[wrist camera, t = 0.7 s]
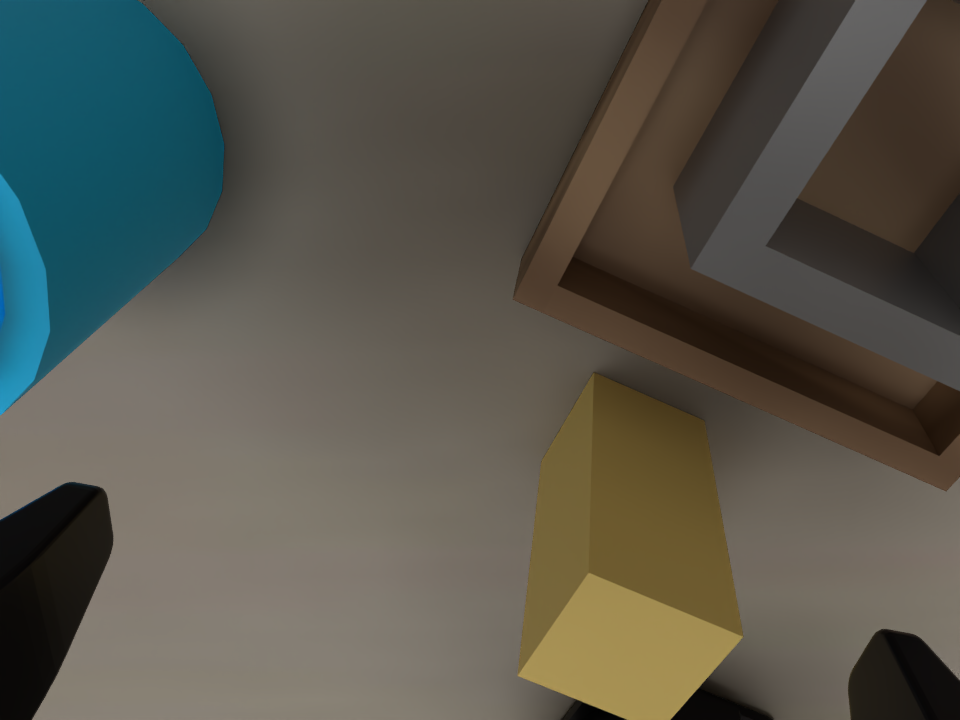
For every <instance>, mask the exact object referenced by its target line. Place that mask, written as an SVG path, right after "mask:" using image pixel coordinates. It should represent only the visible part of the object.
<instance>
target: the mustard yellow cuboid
mask: <svg viewBox="0 0 960 720" xmlns="http://www.w3.org/2000/svg"><path fill="white" fill-rule="evenodd" d="M742 638H743V632H742V626H741V621H740V615H739V610H738V604H737V599H736V593H735V588H734V582H733V576H732V571H731V565H730V560H729V554H728V549H727V543H726V538H725V532H724V527H723V521H722V516H721V510H720V504H719V499H718V493H717V488H716V482H715V477H714V471H713V466H712V460H711V455H710V449H709V443H708V438H707V432H706V427H705V421H704V420H702V419H699V418H697V417H695V416H693V415H690V414H688V413H686V412H683V411H681V410H679V409H677V408H674V407H672V406H670V405H667V404H665V403H663V402H661V401H658V400H656V399H654V398H651V397H649V396H647V395H645V394H642V393H640V392H638V391H636V390H633V389H631V388H629V387H626V386H624V385H622V384H620V383H617V382H615V381H613V380H610V379H608V378H606V377H604V376H601V375H599V374H597V373H593V374H592V376H591V378H590V380H589V381H588V383H587V385H586V386H585V388H584V390H583V391H582V393H581V395H580V397H579V398H578V400H577V402H576V403H575V405H574V407H573V408H572V410H571V412H570V414H569V415H568V417H567V419H566V420H565V422H564V424H563V425H562V427H561V429H560V431H559V432H558V434H557V436H556V437H555V439H554V441H553V442H552V444H551V446H550V448H549V449H548V451H547V453H546V454H545V456H544V458H543V459H542V461H541V470H540V479H539V488H538V496H537V505H536V514H535V523H534V532H533V541H532V550H531V559H530V568H529V577H528V586H527V595H526V604H525V613H524V622H523V631H522V640H521V649H520V658H519V667H518V676H519V677H522V678H524V679H527V680H529V681H532V682H534V683H537V684H539V685H542V686H544V687H547V688H549V689H552V690H554V691H557V692H559V693H562V694H564V695H567V696H569V697H572V698H574V699H577V700H579V701H582V702H584V703H587V704H589V705H592V706H594V707H597V708H599V709H602V710H604V711H607V712H609V713H612V714H614V715H617V716H619V717H622V718H624V719H627V720H671V719H672V717H673V716H674V715H675V714H676V713H677V712H678V711H679V709H680V708H681V707H682V706H683V705H684V704H685V703H686V701H687V700H688V699H689V698H690V697H691V696H692V695H693V694H694V692H695V691H696V690H697V689H698V688H699V687H700V686H701V684H702V683H703V682H704V681H705V680H706V679H707V678H708V677H709V675H710V674H711V673H712V672H713V671H714V670H715V669H716V667H717V666H718V665H719V664H720V663H721V662H722V661H723V659H724V658H725V657H726V656H727V655H728V654H729V653H730V652H731V650H732V649H733V648H734V647H735V646H736V645H737V644H738V642H739V641H740V640H741V639H742Z"/></svg>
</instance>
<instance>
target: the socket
mask: <svg viewBox="0 0 960 720" xmlns="http://www.w3.org/2000/svg"><path fill="white" fill-rule="evenodd" d="M926 1H927V0H779V1H778V3H777V5H776V6H775V8H774V10H773V12H772V14H771V15H770V17H769V19H768V21H767V22H766V24H765V26H764V28H763V29H762V31H761V33H760V35H759V36H758V38H757V40H756V42H755V43H754V45H753V47H752V49H751V50H750V52H749V54H748V56H747V58H746V59H745V61H744V63H743V65H742V66H741V68H740V70H739V72H738V73H737V75H736V77H735V79H734V80H733V82H732V84H731V86H730V87H729V89H728V91H727V93H726V94H725V96H724V98H723V100H722V101H721V103H720V105H719V107H718V109H717V110H716V112H715V114H714V116H713V117H712V119H711V121H710V123H709V124H708V126H707V128H706V130H705V131H704V133H703V135H702V137H701V138H700V140H699V142H698V144H697V145H696V147H695V149H694V151H693V153H692V154H691V156H690V158H689V160H688V161H687V163H686V165H685V167H684V168H683V170H682V172H681V174H680V175H679V177H678V179H677V181H676V182H675V184H674V186H673V189H674V194H675V198H676V203H677V208H678V212H679V217H680V222H681V226H682V231H683V235H684V240H685V245H686V249H687V254H688V258H689V263H690V268H691V269H692V270H695V271H697V272H699V273H701V274H703V275H706V276H708V277H710V278H712V279H714V280H717V281H719V282H721V283H723V284H725V285H728V286H730V287H732V288H734V289H736V290H739V291H741V292H743V293H745V294H747V295H750V296H752V297H754V298H756V299H758V300H760V301H763V302H765V303H767V304H769V305H771V306H774V307H776V308H778V309H780V310H782V311H785V312H787V313H789V314H791V315H793V316H796V317H798V318H800V319H802V320H804V321H807V322H809V323H811V324H813V325H815V326H818V327H820V328H822V329H824V330H826V331H829V332H831V333H833V334H835V335H837V336H840V337H842V338H844V339H846V340H848V341H851V342H853V343H855V344H857V345H859V346H861V347H864V348H866V349H868V350H870V351H872V352H875V353H877V354H879V355H881V356H883V357H886V358H888V359H890V360H892V361H894V362H897V363H899V364H901V365H903V366H905V367H908V368H910V369H912V370H914V371H916V372H919V373H921V374H923V375H925V376H927V377H930V378H932V379H934V380H936V381H938V382H941V383H943V384H945V385H947V386H949V387H952V388H954V389H956V390H958V391H960V193H959V195H958V196H957V197H956V199H955V200H954V201H953V202H952V204H951V205H950V206H949V208H948V209H947V210H946V212H945V213H944V214H943V216H942V217H941V218H940V220H939V221H938V222H937V223H936V225H935V226H934V227H933V229H932V230H931V231H930V233H929V234H928V235H927V237H926V238H925V239H924V240H923V242H922V243H921V244H920V246H919V247H918V248H917V250H916V251H915V252H914V253H913V252H911V251H908V250H906V249H904V248H902V247H900V246H898V245H896V244H894V243H891V242H889V241H887V240H885V239H883V238H881V237H879V236H877V235H874V234H872V233H870V232H868V231H866V230H864V229H862V228H859V227H857V226H855V225H853V224H851V223H849V222H847V221H845V220H842V219H840V218H838V217H836V216H834V215H832V214H830V213H828V212H825V211H823V210H821V209H819V208H817V207H815V206H813V205H811V204H808V203H806V202H804V201H802V200H800V199H798V198H797V197H798V196H799V194H800V193H801V191H802V190H803V188H804V187H805V185H806V184H807V182H808V181H809V179H810V178H811V176H812V175H813V173H814V172H815V170H816V169H817V167H818V165H819V164H820V162H821V161H822V159H823V158H824V156H825V155H826V153H827V152H828V150H829V149H830V147H831V146H832V144H833V143H834V141H835V140H836V138H837V137H838V135H839V134H840V132H841V130H842V129H843V127H844V126H845V124H846V123H847V121H848V120H849V118H850V117H851V115H852V114H853V112H854V111H855V109H856V108H857V106H858V105H859V103H860V102H861V100H862V98H863V97H864V95H865V94H866V92H867V91H868V89H869V88H870V86H871V85H872V83H873V82H874V80H875V79H876V77H877V76H878V74H879V73H880V71H881V70H882V68H883V66H884V65H885V63H886V62H887V60H888V59H889V57H890V56H891V54H892V53H893V51H894V50H895V48H896V47H897V45H898V44H899V42H900V41H901V39H902V38H903V36H904V34H905V33H906V31H907V30H908V28H909V27H910V25H911V24H912V22H913V21H914V19H915V18H916V16H917V15H918V13H919V12H920V10H921V9H922V7H923V6H924V4H925V2H926ZM952 1H954V2H956V3H958V4H960V0H952Z"/></svg>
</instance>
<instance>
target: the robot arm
mask: <svg viewBox="0 0 960 720" xmlns="http://www.w3.org/2000/svg"><path fill="white" fill-rule="evenodd" d="M112 547H113V530H112V524H111V517H110V511H109V504H108V498H107V494H106V492H105V491H104V489H103V488H100V487H98V486H93V485H87V484H82V483H76V482H68V483H65V484H63V485H61V486H59V487H57V488H55V489H53V490H52V491H50V492H48V493H47V494H45V495H43V496H41V497H40V498H38V499H36V500H34V501H33V502H31V503H29V504H27V505H26V506H24V507H22V508H20V509H19V510H17V511H15V512H13V513H12V514H10V515H8V516H6V517H5V518H3V519H1V520H0V720H32V719H33V717H34V715H35V713H36V712H37V710H38V708H39V707H40V705H41V703H42V701H43V700H44V698H45V696H46V694H47V693H48V691H49V689H50V687H51V685H52V683H53V681H54V680H55V678H56V676H57V674H58V672H59V670H60V668H61V666H62V663H63V661H64V659H65V657H66V655H67V653H68V650H69V648H70V646H71V644H72V641H73V639H74V637H75V634H76V632H77V630H78V628H79V625H80V623H81V621H82V619H83V616H84V614H85V612H86V609H87V607H88V605H89V603H90V600H91V598H92V596H93V594H94V591H95V589H96V587H97V585H98V582H99V580H100V578H101V575H102V573H103V571H104V569H105V566H106V564H107V562H108V560H109V557H110V554H111V551H112ZM848 695H849V705H850V715H851V720H960V680H959V679H958V678H957V677H956V676H955V675H954V674H953V672H952V671H951V670H950V669H949V668H948V667H947V666H946V665H945V664H944V663H943V662H942V660H941V659H940V658H939V657H938V656H937V655H936V654H935V653H934V652H933V651H932V650H931V648H930V647H929V646H928V645H927V644H926V643H925V642H924V641H923V640H922V639H921V638H919V637H918V636H916V635H914V634H910V633H905V632H899V631H893V630H888V629H881V630H879V631H878V632H876V633H875V634H874V635H873V637H872V638H871V640H870V642H869V643H868V645H867V647H866V648H865V650H864V652H863V653H862V655H861V656H860V658H859V660H858V661H857V663H856V665H855V666H854V668H853V670H852V672H851V674H850V678H849V683H848ZM563 720H627V719H624V718H622V717H619V716H617V715H614V714H612V713H609V712H607V711H604V710H602V709H599V708H597V707H594V706H592V705H589V704H587V703H584V702H582V701H579V700H577V701H576V703H575V704H574V705H573V707H572V708H571V709H570V711H569V712H568V713H567V714H566V716H565V717H564V718H563ZM671 720H773V719H771V718H769V717H768V716H765V715H763V714H760V713H758V712H755V711H753V710H750V709H748V708H745V707H743V706H740V705H738V704H736V703H733V702H731V701H728V700H726V699H723V698H721V697H718V696H716V695H713V694H711V693H708V692H706V691H703V690H701V689H699V688H698V689H697V690H696V691H695V692H694V694H693V695H692V696H691V697H690V698H689V699H688V700H687V701H686V703H685V704H684V705H683V706H682V707H681V708H680V709H679V711H678V712H677V713H676V714H675V715H674V716H673V717H672V719H671Z"/></svg>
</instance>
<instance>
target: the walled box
mask: <svg viewBox="0 0 960 720" xmlns="http://www.w3.org/2000/svg"><path fill="white" fill-rule="evenodd" d="M778 1H779V0H648V3H647V5H646V7H645V9H644V11H643V13H642V15H641V17H640V19H639V21H638V23H637V25H636V27H635V29H634V31H633V33H632V35H631V37H630V39H629V41H628V43H627V45H626V47H625V49H624V51H623V53H622V55H621V58H620V60H619V62H618V64H617V66H616V68H615V70H614V72H613V74H612V76H611V78H610V80H609V82H608V84H607V86H606V88H605V90H604V92H603V94H602V96H601V98H600V100H599V102H598V104H597V106H596V108H595V110H594V113H593V115H592V117H591V119H590V121H589V123H588V125H587V127H586V129H585V131H584V133H583V135H582V137H581V139H580V141H579V143H578V145H577V147H576V149H575V151H574V153H573V155H572V157H571V159H570V161H569V163H568V165H567V168H566V170H565V172H564V174H563V176H562V178H561V180H560V182H559V184H558V186H557V188H556V190H555V192H554V194H553V196H552V198H551V200H550V202H549V204H548V206H547V208H546V210H545V212H544V214H543V216H542V218H541V220H540V223H539V225H538V227H537V229H536V231H535V233H534V235H533V237H532V239H531V241H530V243H529V245H528V247H527V249H526V251H525V253H524V255H523V257H522V259H521V264H520V268H519V273H518V277H517V282H516V287H515V291H514V296H513V300H515V301H517V302H519V303H522V304H524V305H526V306H528V307H531V308H533V309H535V310H537V311H540V312H542V313H544V314H546V315H549V316H551V317H553V318H555V319H558V320H560V321H562V322H565V323H567V324H569V325H571V326H574V327H576V328H578V329H580V330H583V331H585V332H587V333H589V334H592V335H594V336H596V337H598V338H601V339H603V340H605V341H607V342H610V343H612V344H614V345H617V346H619V347H621V348H623V349H626V350H628V351H630V352H632V353H635V354H637V355H639V356H641V357H644V358H646V359H648V360H650V361H653V362H655V363H657V364H659V365H662V366H664V367H666V368H668V369H671V370H673V371H675V372H678V373H680V374H682V375H684V376H687V377H689V378H691V379H693V380H696V381H698V382H700V383H702V384H705V385H707V386H709V387H711V388H714V389H716V390H718V391H720V392H723V393H725V394H727V395H730V396H732V397H734V398H736V399H739V400H741V401H743V402H745V403H748V404H750V405H752V406H754V407H757V408H759V409H761V410H763V411H766V412H768V413H770V414H772V415H775V416H777V417H779V418H781V419H784V420H786V421H788V422H791V423H793V424H795V425H797V426H800V427H802V428H804V429H806V430H809V431H811V432H813V433H815V434H818V435H820V436H822V437H824V438H827V439H829V440H831V441H833V442H836V443H838V444H840V445H843V446H845V447H847V448H849V449H852V450H854V451H856V452H858V453H861V454H863V455H865V456H867V457H870V458H872V459H874V460H876V461H879V462H881V463H883V464H885V465H888V466H890V467H892V468H894V469H897V470H899V471H901V472H904V473H906V474H908V475H910V476H913V477H915V478H917V479H919V480H922V481H924V482H926V483H928V484H931V485H933V486H935V487H937V488H940V489H942V490H944V491H947V490H948V489H949V488H950V487H951V486H952V485H953V484H954V482H955V481H956V480H957V479H958V478H959V477H960V391H958V390H956V389H954V388H952V387H949V386H947V385H945V384H943V383H941V382H938V381H936V380H934V379H932V378H930V377H927V376H925V375H923V374H921V373H919V372H916V371H914V370H912V369H910V368H908V367H905V366H903V365H901V364H899V363H897V362H894V361H892V360H890V359H888V358H886V357H883V356H881V355H879V354H877V353H875V352H872V351H870V350H868V349H866V348H864V347H861V346H859V345H857V344H855V343H853V342H851V341H848V340H846V339H844V338H842V337H840V336H837V335H835V334H833V333H831V332H829V331H826V330H824V329H822V328H820V327H818V326H815V325H813V324H811V323H809V322H807V321H804V320H802V319H800V318H798V317H796V316H793V315H791V314H789V313H787V312H785V311H782V310H780V309H778V308H776V307H774V306H771V305H769V304H767V303H765V302H763V301H760V300H758V299H756V298H754V297H752V296H750V295H747V294H745V293H743V292H741V291H739V290H736V289H734V288H732V287H730V286H728V285H725V284H723V283H721V282H719V281H717V280H714V279H712V278H710V277H708V276H706V275H703V274H701V273H699V272H697V271H695V270H692V269H691V268H690V263H689V258H688V254H687V249H686V245H685V240H684V235H683V231H682V226H681V222H680V217H679V212H678V208H677V203H676V198H675V194H674V189H673V186H674V184H675V182H676V181H677V179H678V177H679V175H680V174H681V172H682V170H683V168H684V167H685V165H686V163H687V161H688V160H689V158H690V156H691V154H692V153H693V151H694V149H695V147H696V145H697V144H698V142H699V140H700V138H701V137H702V135H703V133H704V131H705V130H706V128H707V126H708V124H709V123H710V121H711V119H712V117H713V116H714V114H715V112H716V110H717V109H718V107H719V105H720V103H721V101H722V100H723V98H724V96H725V94H726V93H727V91H728V89H729V87H730V86H731V84H732V82H733V80H734V79H735V77H736V75H737V73H738V72H739V70H740V68H741V66H742V65H743V63H744V61H745V59H746V58H747V56H748V54H749V52H750V50H751V49H752V47H753V45H754V43H755V42H756V40H757V38H758V36H759V35H760V33H761V31H762V29H763V28H764V26H765V24H766V22H767V21H768V19H769V17H770V15H771V14H772V12H773V10H774V8H775V6H776V5H777V3H778ZM959 193H960V4H958V3H956V2H954V1H952V0H927V1H926V2H925V4H924V6H923V7H922V9H921V10H920V12H919V13H918V15H917V16H916V18H915V19H914V21H913V22H912V24H911V25H910V27H909V28H908V30H907V31H906V33H905V34H904V36H903V38H902V39H901V41H900V42H899V44H898V45H897V47H896V48H895V50H894V51H893V53H892V54H891V56H890V57H889V59H888V60H887V62H886V63H885V65H884V66H883V68H882V70H881V71H880V73H879V74H878V76H877V77H876V79H875V80H874V82H873V83H872V85H871V86H870V88H869V89H868V91H867V92H866V94H865V95H864V97H863V98H862V100H861V102H860V103H859V105H858V106H857V108H856V109H855V111H854V112H853V114H852V115H851V117H850V118H849V120H848V121H847V123H846V124H845V126H844V127H843V129H842V130H841V132H840V134H839V135H838V137H837V138H836V140H835V141H834V143H833V144H832V146H831V147H830V149H829V150H828V152H827V153H826V155H825V156H824V158H823V159H822V161H821V162H820V164H819V165H818V167H817V169H816V170H815V172H814V173H813V175H812V176H811V178H810V179H809V181H808V182H807V184H806V185H805V187H804V188H803V190H802V191H801V193H800V194H799V196H798V197H797V198H798V199H800V200H802V201H804V202H806V203H808V204H811V205H813V206H815V207H817V208H819V209H821V210H823V211H825V212H828V213H830V214H832V215H834V216H836V217H838V218H840V219H842V220H845V221H847V222H849V223H851V224H853V225H855V226H857V227H859V228H862V229H864V230H866V231H868V232H870V233H872V234H874V235H877V236H879V237H881V238H883V239H885V240H887V241H889V242H891V243H894V244H896V245H898V246H900V247H902V248H904V249H906V250H908V251H911V252H913V253H914V252H915V251H916V250H917V248H918V247H919V246H920V244H921V243H922V242H923V240H924V239H925V238H926V237H927V235H928V234H929V233H930V231H931V230H932V229H933V227H934V226H935V225H936V223H937V222H938V221H939V220H940V218H941V217H942V216H943V214H944V213H945V212H946V210H947V209H948V208H949V206H950V205H951V204H952V202H953V201H954V200H955V199H956V197H957V196H958V195H959Z"/></svg>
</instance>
